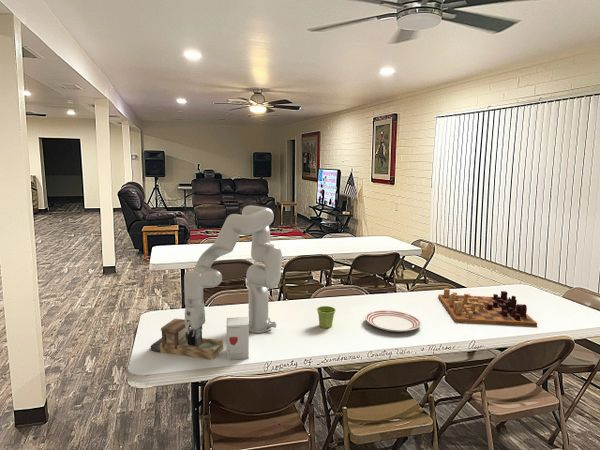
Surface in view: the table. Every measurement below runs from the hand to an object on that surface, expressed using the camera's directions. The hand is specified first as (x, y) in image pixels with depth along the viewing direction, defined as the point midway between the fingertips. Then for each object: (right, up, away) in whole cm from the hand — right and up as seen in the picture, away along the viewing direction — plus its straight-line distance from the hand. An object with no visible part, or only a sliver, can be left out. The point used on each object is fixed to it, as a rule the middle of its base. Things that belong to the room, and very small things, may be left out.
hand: (194, 341), depth 181 cm
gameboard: (+146, +1, +56) cm, 157 cm away
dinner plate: (+91, -1, +34) cm, 97 cm away
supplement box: (+18, -5, -2) cm, 19 cm away
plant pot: (+57, -1, +31) cm, 65 cm away
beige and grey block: (-5, -1, +1) cm, 5 cm away
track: (-3, -4, +2) cm, 6 cm away
